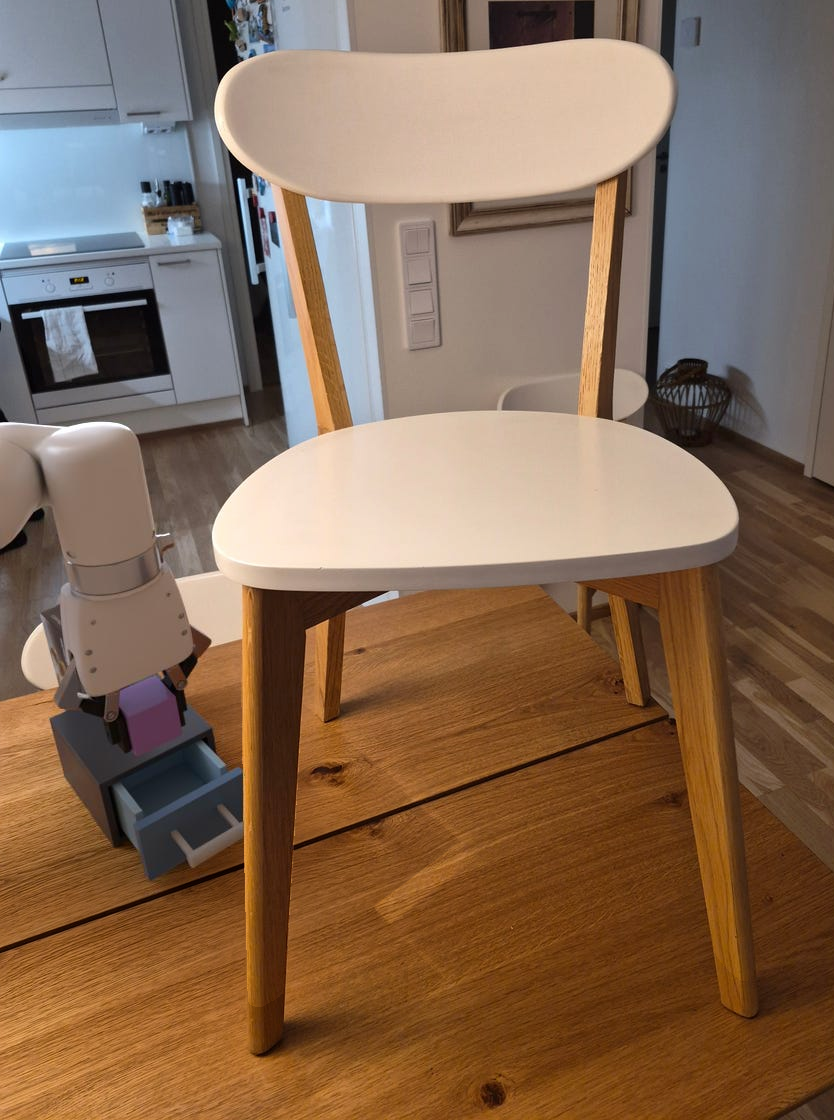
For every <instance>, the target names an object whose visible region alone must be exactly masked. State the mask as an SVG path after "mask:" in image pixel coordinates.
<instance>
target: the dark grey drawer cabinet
mask: <svg viewBox="0 0 834 1120" xmlns="http://www.w3.org/2000/svg"><path fill="white" fill-rule="evenodd" d="M153 676H156V677H157V678H158V679H159V680H161V679H163V678H164V677H162V676H161V675H160V674H159V672H158V673H156V674H154V675H151V676H149V677H147V678H144V679H142V680H140V681H137V682H135V683H133V684H130V685H128V686H126V687H123V688H121V689H120V691H121V690H123V689H125V688H128V687H130V686H132V685H135V684H137V683H139V682H142V681H144V680H146V679H148V678H151V677H153ZM186 704H187V711H185V712H184V718H185V723H186V725H185V726H183V727H181V729H182V735H181V736H179V737H176V738H174V739H172V740H170V741H168V742H166V743H164V744H162V745H160V746H158V747H156V748H154V749H152V750H150V751H148V752H146V753H144V754H141V755H139V756H137V757H136V755H135V754H134V753H133V752H132V751H131V752H128V753H126V754H125V753H124V752H123V751H122V749H121V748H120V747H119V746H118V744H115V745H113V746H112V745H111V744H110V742H109V741H108V739H107V736H106V733H105V728H104V724H103V720H102V718H101V717H98V716H94V715H91V714H87V713H85V712H83V711H79V710H77V711H74V710H67V711H63V712H61V713H58V714H56V715H53V716H52V717H49V723H50V724H49V725H50V727H51V731H52V733H53V734H52V735H53V738H54V742H55V746H56V749H57V750H56V751H57V754H58V758H59V761H60V765H61V769H62V772H63V777H64V778H65V780H66V782H67V783H68V784H69V786H70V788H72V791H73V792H74V793H75V794H76V796H77V797H78V798H79V800H80V801H81V802H82V804H83V805H84V808H86V810H87V811H88V813H89V814H90V816H91V817H92V818H93V820H94V821H95V822H96V824H97V826H98V827H99V828H100V830H101V831H102V833H103V834H104V835H105V837H106V838H107V839H108V841H109V842H110V844H111V845H112V846H113V848H116V847H118V846H120V845H121V844H123V843H126V842H127V841H129V840H130V839H129V838H128V837H127V835H126V834H125V832H124V831H123V830H122V828H121V827H120V826H119V824H118V823H117V822H116V819H115V814H114V810H113V806H112V802H111V798H110V794H109V789H108V787H109V786H110V785H112V784H114V783H116V782H118V781H120V780H122V779H124V778H126V777H128V776H130V775H132V774H134V773H136V772H138V771H140V770H142V769H144V768H146V767H148V766H150V765H152V764H154V763H156V762H158V761H160V760H162V759H164V758H166V757H168V756H170V755H171V754H173V753H175V752H177V751H179V750H181V749H183V748H185V747H187V746H189V745H191V744H193V743H195V742H197V741H199V740H202V741H203V742H204V743H205V744H206V745H207V746H208V747H209V748H210V749H211V750H212V751H213V752H214V753H215V754H216V755H217V756H218V751H217V746H216V745H217V744H216V740H215V735H214V728H213V726H211V724H209V722H208V721H206V720H205V719H204V718H203V716H201V715H200V714H199V713H198V712H197V711H196V710H195V709H194V707H192V706H191V705H190V704H189V702H187V701H186Z"/></svg>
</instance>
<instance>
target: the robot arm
mask: <svg viewBox="0 0 834 1120" xmlns="http://www.w3.org/2000/svg"><path fill="white" fill-rule="evenodd" d="M141 450H142V449H141V446H140V442H139V439H138V437H137V435H136V434H135V432H134V431H133V430H132V429H131V428H130V427H128V426H126V425H123V424H121V423H117V422H109V421H94V422H84V423H78V424H74V425H71V426H57V425H46V424H45V425H44V424H43V425H42V424H32V423H22V422H0V550H2V549H3V548H4V547H6V546H7V545H8V544H10V543H12V541H13V540H14V539H15V538H16V537H17V535H18V534H19V533H20V532H21V531H22V530H23V528H24V526H25V525H26V523H27V522H28V521H29V519H30V518H31V516H32V515H33V513H34V512H36V511H37V510H39V509H41V508H43V507H45V506H49V507H50V508H51V509H52V510H51V511H52V515H53V519H54V523H55V527H56V531H57V535H58V540H59V544H60V549H61V553H62V556H63V561H64V566H65V570H66V574H67V578H68V582H66V583H64V584H63V585H62V586H61V588H60V592H59V593H60V594H59V595H60V597H59V604H60V612H61V624H62V632H63V639H64V646H65V653H66V658H67V663H68V668H67V670H66V672H65V674H64V677H63V679H62V681H61V683H60V685H59V684H58V687H57V689H56V691H55V693H54V695H53V698H52V700H53V702H54V703H55V705H56V707H58V709H59V710H60V709H61V710H65V709H66V710H74V711H77V710H79V711H83V712H85V713H87V714H91V715H94V716H98V717H101V718H102V720H103V724H104V728H105V733H106V736H107V739H108V741H109V742H110V744H111V745H112V746H113V745H115V744H118V746H119V747H120V748H121V749H122V751H123V752H124V753H125V754H126V753H128V752H131V749H132V746H131V742H130V737H129V733H128V728H127V724H126V719H125V717H124V716H123V715H122V713H121V712H120V710H119V698H120V689H121V688H123V687H126V686H128V685H130V684H133V683H135V682H137V681H140V680H142V679H144V678H147V677H149V676H151V675H154V674H156V673H158V674H159V673H160V672H161V673H162V675H163V677H162V678H163V679H161V680H160V681H161V682H162V683H163V684H164V685H165V686H166V687H167V688H168V689H169V690H170V691H171V692H172V693H173V695H174V696H175V697H176V702H177V708H178V713H179V718H180V723H181V727H183V726H185V725H186V723H185V718H184V712H185V711H187V704H186V702H187V700H186V694H185V689H186V688H187V686H188V684H189V683H188V682H189V681H188V678H189V677H190V675H191V673H192V672H193V670H194V668H195V667H196V666H197V664H198V660H199V659H200V658H201V657H202V656H203V655H204V654H205V653H206V651H207V650H208V649H209V648H210V646H212V641H213V640H212V638H210V637H209V636H208V635H207V634H206V633H204V632H203V631H201V630H200V629H198V628H197V627H196V626H195V625H192V623H190V621H189V616H188V614H187V610H186V606H185V603H184V601H183V598H182V595H181V591H180V588H179V586H178V583H177V581H176V578H175V576H174V574H173V572H172V570H171V569H172V568H171V567H170V565H169V564H168V562H167V561H166V560H165V559H164V557H163V556H164V553H165V552H167V551H168V549H172V548H175V542H174V538H173V537H172V535H171V534H170V533H165V534H157V531H156V526H155V521H154V515H153V510H152V505H151V500H150V499H151V498H150V494H149V488H148V483H147V477H146V472H145V465H144V461H143V455H142V451H141ZM81 684H82V685H83V686H84V689H85V691H86V692H83V693H79V692H78V690H79V688H80V686H81Z"/></svg>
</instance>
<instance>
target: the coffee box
mask: <svg viewBox="0 0 834 1120" xmlns="http://www.w3.org/2000/svg"><path fill="white" fill-rule="evenodd" d="M39 616H40V620H41V623H42V627H43V632H44V634H45V638H46V642H47V647H48V651H49V654H50V658H51V661H52V665H53V668H54V673H55V677H56V680H57V684H58V686H59V685H60V683H61V681H62V679H63V677H64V674H65V672H66V670H67V668H68V663H67V658H66V653H65V646H64V639H63V632H62V624H61V612H60V603H57V604H56V605H55V606H54V607H51V608H48V609H45V610H43V611H41V612H39ZM78 692H79V693H83V692H86V691H85V689H84V686H83V685H82V684H81V686H80V688H79V690H78ZM64 710H65V711H67V710H66V709H64ZM65 711H64V712H65Z"/></svg>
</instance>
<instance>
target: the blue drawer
mask: <svg viewBox="0 0 834 1120" xmlns="http://www.w3.org/2000/svg"><path fill="white" fill-rule="evenodd" d="M227 766H228V765H227V764H226V763H225V762H224V761H223V760H222V759H221V758H220V756H218V754H217V755H216V754H215V753H214V752H213V751H212V750H211V749H210V748H209V747H208V746H207V745H206V744H205V743H204V742H203V741H202V740H199V741H197V742H195V743H193V744H191V745H189V746H187V747H185V748H183V749H181V750H179V751H177V752H175V753H173V754H171V755H170V756H168V757H166V758H164V759H162V760H160V761H158V762H156V763H154V764H152V765H150V766H148V767H146V768H144V769H142V770H140V771H138V772H136V773H134V774H132V775H130V776H128V777H126V778H124V779H122V780H120V781H118V782H116V783H114V784H112V785H110V786H109V787H108V789H109V794H110V798H111V802H112V806H113V810H114V814H115V819H116V822H117V823H118V824H119V826H120V827H121V828H122V830H123V831H124V832H125V834H126V835H127V837H128V838H129V840H130V843H132V845H133V846H134V848H135V849H136V850H137V852H138V853H139V855H140V859H141V864H142V869H143V873H144V876H145V877H146V879H147V880H148V882H150V883H151V882H152V881H154V880H156V879H157V878H159V877H160V876H162V875H164V874H165V873H168V872H169V871H171V870H172V869H174V868H176V867H178V866H180V865H181V864H182V863H184V862H186V861H187V862H188V865H189V866H190V868H192V869H194V868H196V867H197V866H200V865H201V864H203V863H204V862H206V861H207V860H209V859H210V858H212V857H214V856H216V855H217V854H219V853H221V852H222V851H224V850H225V849H227V848H229V847H231V846H233V845H234V844H235V843H237V842H239V841H240V840H242V839H244V838H245V837H244V822H243V772H244V771H243V770H242V769H241V767H240V766H236V767H235V768H232V770H229V771H228V767H227Z"/></svg>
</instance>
